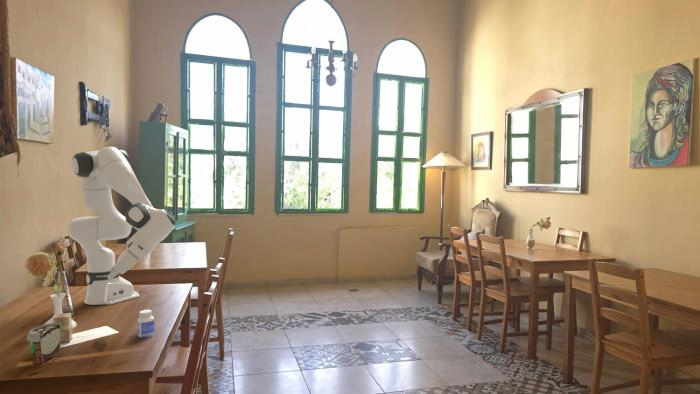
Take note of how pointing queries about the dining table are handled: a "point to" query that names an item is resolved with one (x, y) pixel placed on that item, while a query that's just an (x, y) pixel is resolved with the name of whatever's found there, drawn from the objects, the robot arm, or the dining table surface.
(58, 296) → the flower in vase
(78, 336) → the board
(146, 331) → the pill bottle
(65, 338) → the sanding block
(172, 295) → the dining table surface
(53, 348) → the food container
